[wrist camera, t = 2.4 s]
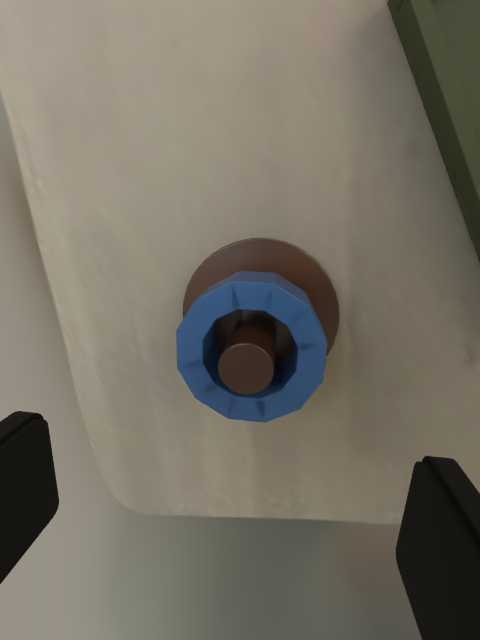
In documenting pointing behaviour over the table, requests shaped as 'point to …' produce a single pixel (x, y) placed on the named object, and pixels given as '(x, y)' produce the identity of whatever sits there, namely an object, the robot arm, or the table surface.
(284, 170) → the table surface
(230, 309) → the ring
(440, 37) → the tray
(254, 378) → the stand
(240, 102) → the table surface
